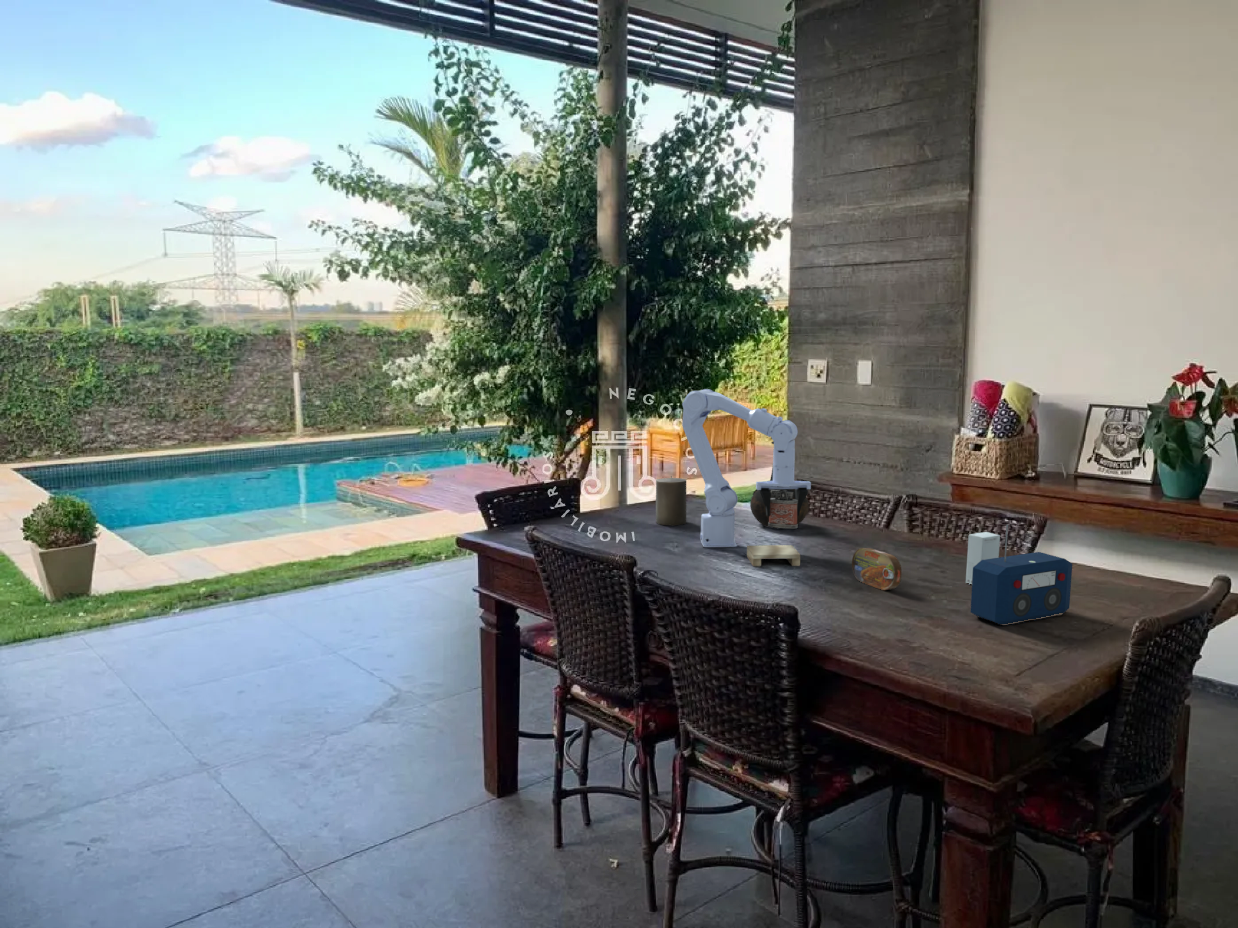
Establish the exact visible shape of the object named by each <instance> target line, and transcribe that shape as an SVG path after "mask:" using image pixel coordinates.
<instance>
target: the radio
mask: <svg viewBox="0 0 1238 928" xmlns="http://www.w3.org/2000/svg"><path fill="white" fill-rule="evenodd" d="M1005 529H1006V530H1005V545H1004V548H1005V549H1004V556H1001V557H999V558H992V559H985V560H981V561H980V562H979V563H978V564H977V565H975V566H974V567H973V575H972V585H971V598H970V613H971V614H973V615H974V616H976V617H978V616H979V617H978V618H980V617H981V618H980V619H983V618H984V619H983V620H985V619H987V620H986V621H988V620H990V621H989V622H991V621H993V622H995V623H994V624H996V623H998V624H997V625H999V624H1008V623H1013V622H1018V621H1024V620H1028V619H1036V618H1041V617H1046V616H1051V615H1054V614H1059V613H1063V614H1065V612H1067V611H1068V610H1069V609H1070V606H1071V605H1070V603H1071V591H1072V590H1071V589H1072V577H1073V576H1072V574H1073V562H1071V561H1069V560H1067V559H1066V558H1063V557H1060V556H1057V555H1052V554H1049V553H1044V552H1041V551H1036V552H1029V553H1020V554H1014V555H1009V556H1008V555H1007V549H1008V548H1007V547H1008V532H1009V524H1006V527H1005ZM993 622H992V623H993Z"/></svg>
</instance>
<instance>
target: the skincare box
mask: <svg viewBox="0 0 1238 928" xmlns="http://www.w3.org/2000/svg"><path fill="white" fill-rule="evenodd" d="M967 540H968V542H967V556H966V573H965V584H966V583H969V584H968V585H970V584H972V575H973V567H974V566H975V565H977V564H978V563H979V562H980V561H981V560H985V559H992V558H999V556H1000V543H1001V535H1000V534H995V533H993V532H989V531H984V532H983V531H982V532H976V533H970V534H968V539H967Z"/></svg>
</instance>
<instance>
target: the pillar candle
mask: <svg viewBox="0 0 1238 928" xmlns="http://www.w3.org/2000/svg"><path fill="white" fill-rule="evenodd" d="M655 522H656V524H658V525H663V526H673V527H674V526H680V525H683V524H684V525H686V524H687V479H686V478H682V477H681V478H678V477H672V475H671V476H670V477H664V478H657V479H655Z"/></svg>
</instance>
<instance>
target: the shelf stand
mask: <svg viewBox="0 0 1238 928" xmlns="http://www.w3.org/2000/svg"><path fill="white" fill-rule="evenodd" d="M746 557H747V559H748V560H749V562H750V564H751V565H752V567H761V566H762V560H764V559H765V560H766V559H769V560H770V559H777V560H778V559H786V560H787V562H788V563H789V564H790V565H791V567H800V566H801V554H800V553H799V551H798V550H797V549H796V547H794V545H791V544H789V545H788V544H785V545H783V544H782V545H781V544H778V545H775V544H774V545H772V544H771V545H746Z"/></svg>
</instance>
